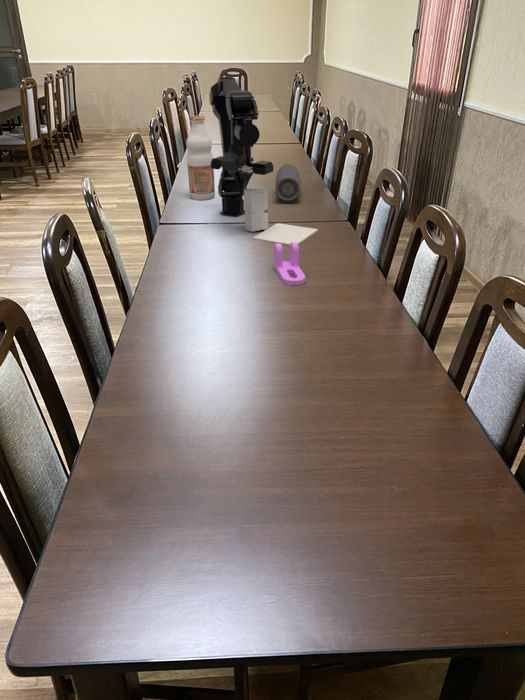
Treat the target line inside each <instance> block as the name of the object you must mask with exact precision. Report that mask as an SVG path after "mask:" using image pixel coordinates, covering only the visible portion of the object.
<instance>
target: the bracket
mask: <svg viewBox="0 0 525 700" xmlns="http://www.w3.org/2000/svg"><path fill="white" fill-rule="evenodd" d="M283 253H284V252H283V244H281V243H274V245H273V267H274V270H275V271H276V273H277V275H278V274H279V275H278V276H279V278H280V280H281V279H282V280H281V282H282V281H283V282H284V283H285V285H286V284H288V285H287V286H291V285H298V286H301V285H300V284H302V285H304V284H305V283H306V275H305V273H304V272H303V270H302V269H301V267H300V266H299V262H300V261H299V259H300V258H299V255H300V254H299V253H300V250H299V244H298V243H297V242H291V243H290V245H289V260H288V261H283V257H284V256H283ZM293 274H294V275H293ZM290 275H293V276H294V277H291V276H290ZM295 277H296V278H295ZM283 282H282V283H283ZM304 282H305V283H304ZM284 283H283V284H284ZM303 283H304V284H303Z"/></svg>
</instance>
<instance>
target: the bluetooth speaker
mask: <svg viewBox="0 0 525 700" xmlns="http://www.w3.org/2000/svg"><path fill="white" fill-rule="evenodd" d="M300 175H301V174H300V171H299V169H298V168H297V167H296V166H295V165H293V164H291V163H286V164H283V165H282V166H281V167H279V169H278V170H277V173H276V176H275V191H276V194H277V196H278V197H279V198H280V199H281V200H283V201H285V202H287V201H288V202H290V201H293V200H296V199H297V197H298V195H299V193H300V192H301V183H302V179H301V176H300Z"/></svg>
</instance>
